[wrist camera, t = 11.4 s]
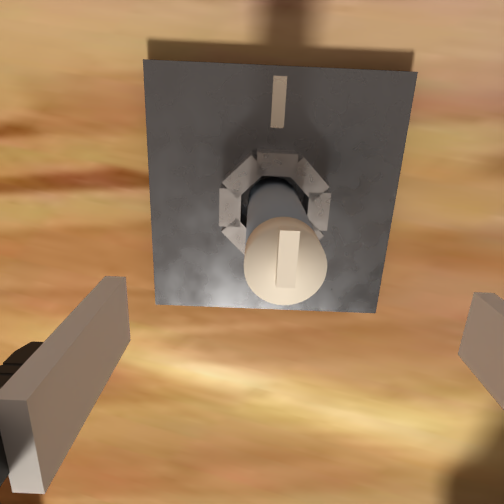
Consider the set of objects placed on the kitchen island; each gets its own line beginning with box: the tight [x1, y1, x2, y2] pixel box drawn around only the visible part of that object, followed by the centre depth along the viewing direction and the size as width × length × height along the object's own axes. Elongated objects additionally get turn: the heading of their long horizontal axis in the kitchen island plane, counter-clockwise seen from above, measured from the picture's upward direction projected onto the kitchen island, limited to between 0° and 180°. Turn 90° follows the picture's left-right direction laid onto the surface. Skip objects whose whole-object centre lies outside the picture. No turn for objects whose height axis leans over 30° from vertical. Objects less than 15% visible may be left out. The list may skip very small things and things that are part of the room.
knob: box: [244, 177, 327, 305], centre depth 25 cm, size 4×4×15 cm
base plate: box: [143, 59, 418, 313], centre depth 31 cm, size 20×20×4 cm
